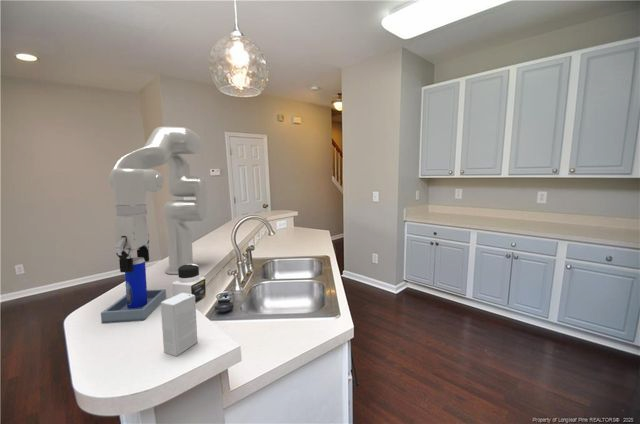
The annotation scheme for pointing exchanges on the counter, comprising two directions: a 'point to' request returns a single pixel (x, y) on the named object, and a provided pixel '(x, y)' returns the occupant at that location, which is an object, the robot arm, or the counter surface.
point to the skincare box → (179, 323)
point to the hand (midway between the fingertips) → (135, 266)
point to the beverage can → (136, 285)
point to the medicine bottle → (190, 282)
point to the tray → (123, 314)
